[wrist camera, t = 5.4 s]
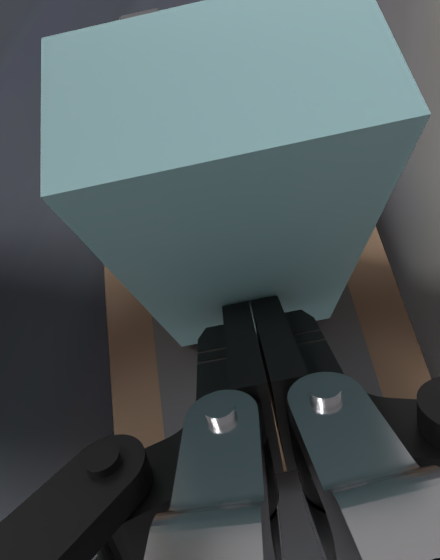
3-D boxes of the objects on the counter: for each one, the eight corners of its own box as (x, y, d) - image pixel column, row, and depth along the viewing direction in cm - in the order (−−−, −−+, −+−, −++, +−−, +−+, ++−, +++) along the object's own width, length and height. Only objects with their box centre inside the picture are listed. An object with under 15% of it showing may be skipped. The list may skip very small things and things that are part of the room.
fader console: (430, 441, 15) (468, 441, 12) (136, 493, 15) (106, 505, 12) (290, 32, 23) (293, -24, 20) (104, 74, 23) (82, 25, 21)
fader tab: (328, 341, 14) (446, 145, 5) (190, 367, 14) (40, 230, 5) (301, 241, 16) (348, -55, 6) (176, 267, 16) (41, 16, 6)
